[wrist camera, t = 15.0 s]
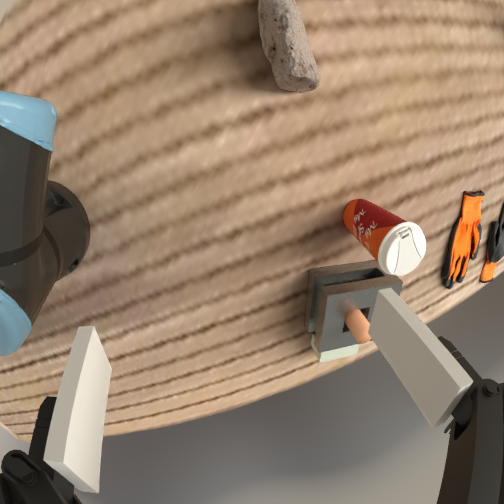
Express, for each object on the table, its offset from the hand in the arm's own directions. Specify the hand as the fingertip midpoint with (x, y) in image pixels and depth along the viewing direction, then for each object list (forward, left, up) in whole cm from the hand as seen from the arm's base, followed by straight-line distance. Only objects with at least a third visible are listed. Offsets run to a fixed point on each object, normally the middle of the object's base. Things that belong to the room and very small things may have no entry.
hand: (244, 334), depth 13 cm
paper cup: (+24, -8, -32) cm, 41 cm away
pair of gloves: (+62, -16, -32) cm, 72 cm away
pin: (+22, -23, -32) cm, 45 cm away
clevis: (+22, -23, -32) cm, 45 cm away
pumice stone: (+11, +18, -32) cm, 39 cm away
